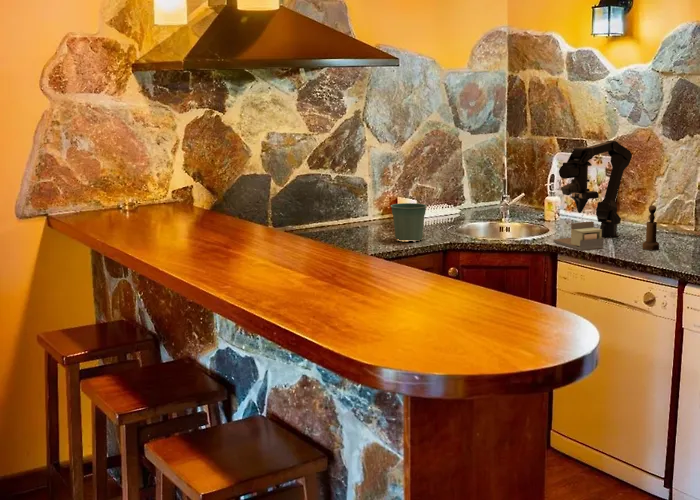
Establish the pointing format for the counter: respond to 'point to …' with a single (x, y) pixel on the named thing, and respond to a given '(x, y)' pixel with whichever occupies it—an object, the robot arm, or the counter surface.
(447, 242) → the counter surface
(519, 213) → the counter surface
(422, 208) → the flower pot
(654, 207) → the brown pedestal figurine
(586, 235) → the collar
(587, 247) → the housing base
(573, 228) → the cover
